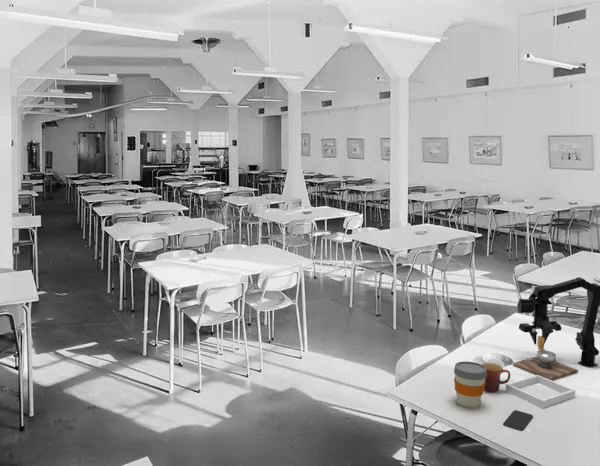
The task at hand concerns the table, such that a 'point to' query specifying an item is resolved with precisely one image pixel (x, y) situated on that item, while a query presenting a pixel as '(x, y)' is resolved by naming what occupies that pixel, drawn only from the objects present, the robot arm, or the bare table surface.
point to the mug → (494, 377)
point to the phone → (518, 420)
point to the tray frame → (513, 389)
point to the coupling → (544, 352)
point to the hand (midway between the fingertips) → (539, 344)
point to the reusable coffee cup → (469, 383)
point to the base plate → (545, 368)
